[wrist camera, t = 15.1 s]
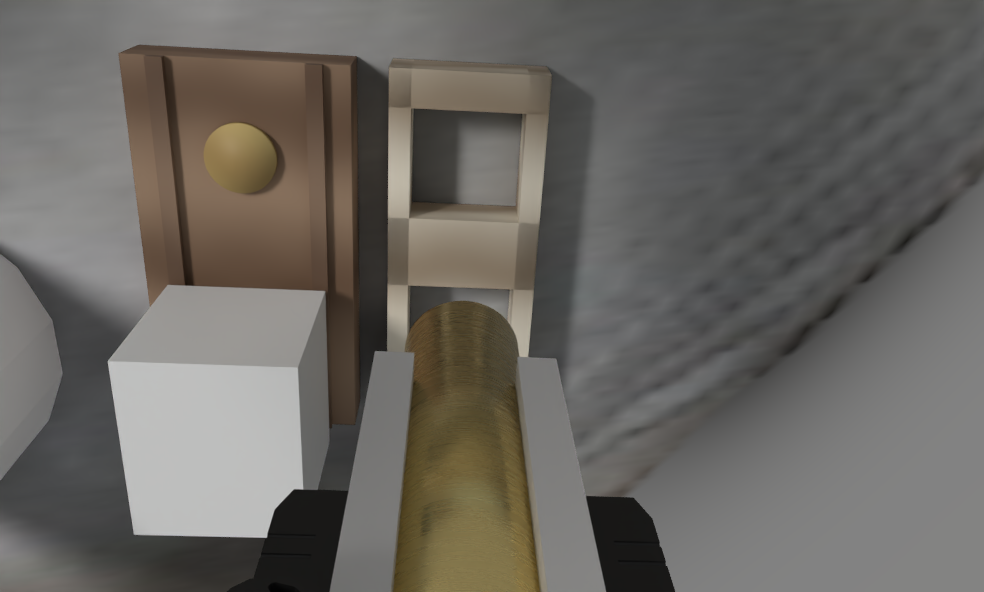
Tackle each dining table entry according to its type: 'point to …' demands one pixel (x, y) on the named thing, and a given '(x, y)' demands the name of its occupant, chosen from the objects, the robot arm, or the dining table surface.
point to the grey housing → (221, 408)
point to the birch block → (464, 227)
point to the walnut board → (251, 181)
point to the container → (24, 365)
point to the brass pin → (464, 459)
